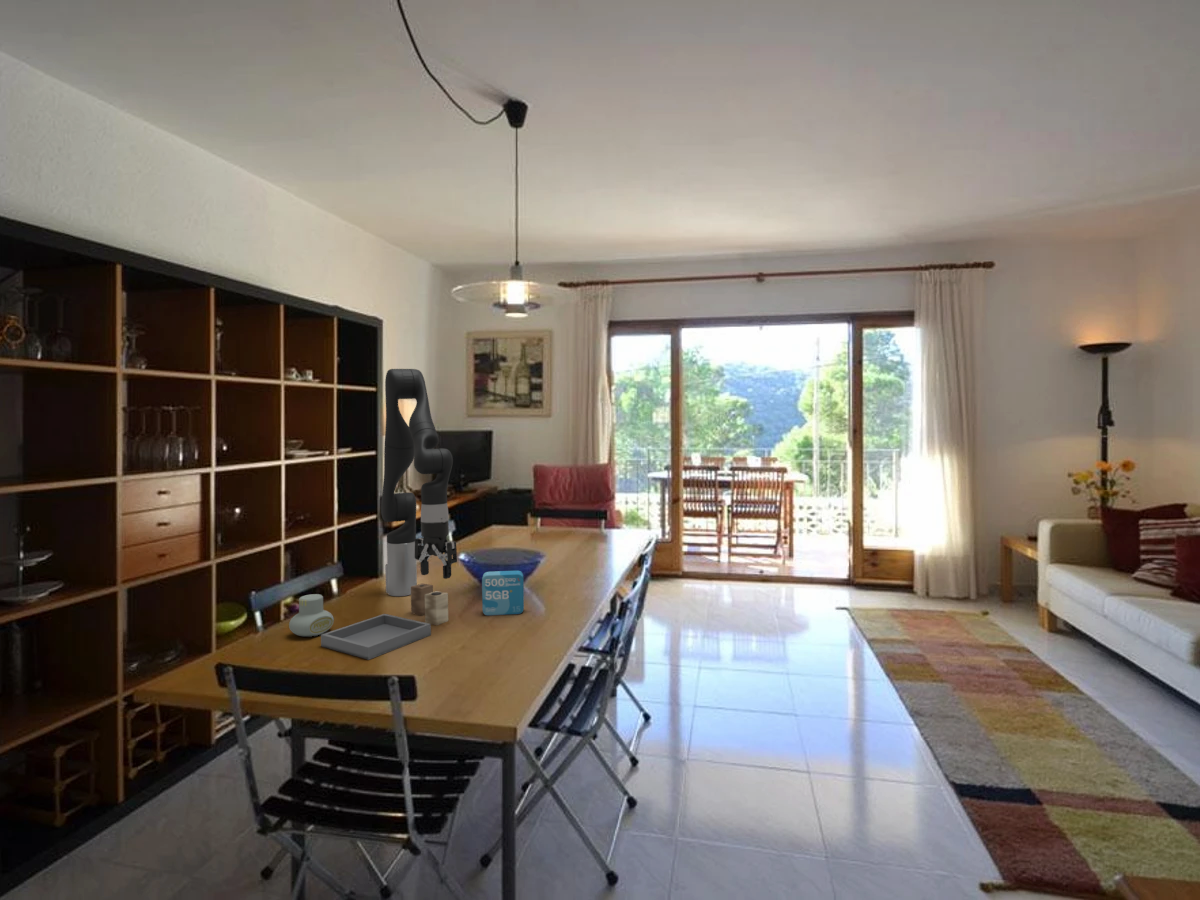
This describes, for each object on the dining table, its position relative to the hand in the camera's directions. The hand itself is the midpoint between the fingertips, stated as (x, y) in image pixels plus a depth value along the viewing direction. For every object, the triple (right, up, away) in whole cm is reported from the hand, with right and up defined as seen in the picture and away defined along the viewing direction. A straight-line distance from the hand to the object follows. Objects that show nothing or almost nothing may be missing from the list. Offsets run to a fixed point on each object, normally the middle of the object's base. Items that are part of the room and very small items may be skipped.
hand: (435, 576), depth 178 cm
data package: (+18, -13, +9) cm, 24 cm away
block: (0, -13, +1) cm, 13 cm away
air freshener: (-31, -14, -8) cm, 35 cm away
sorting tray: (-11, -14, -14) cm, 23 cm away
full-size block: (-6, -13, +9) cm, 17 cm away
